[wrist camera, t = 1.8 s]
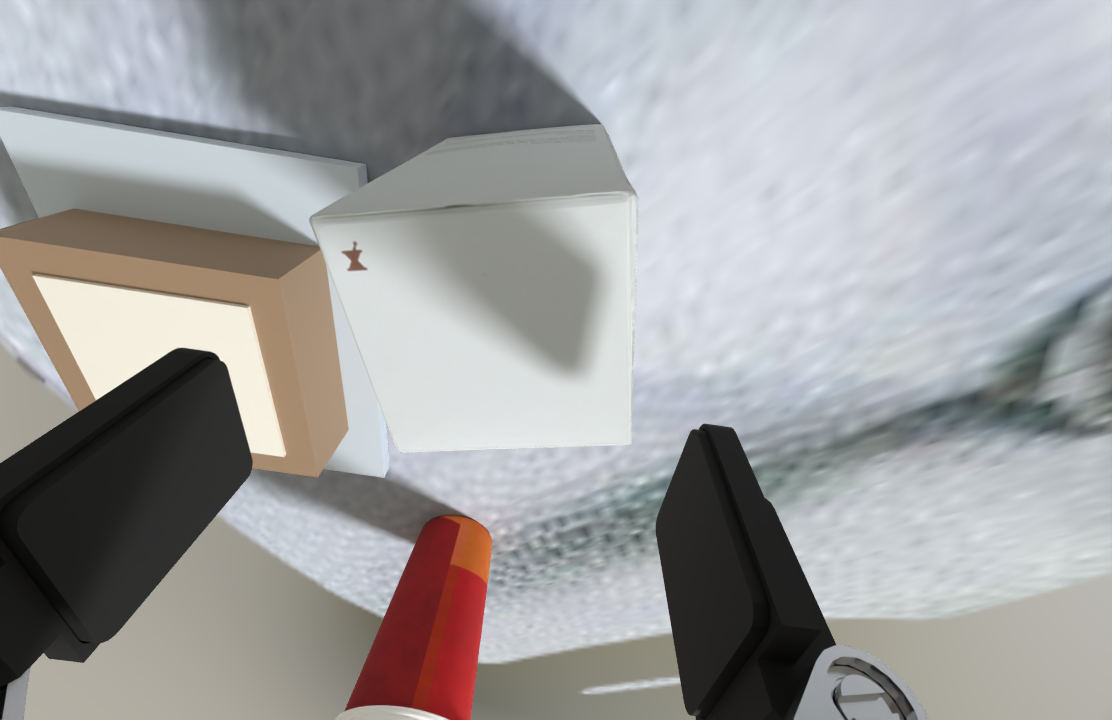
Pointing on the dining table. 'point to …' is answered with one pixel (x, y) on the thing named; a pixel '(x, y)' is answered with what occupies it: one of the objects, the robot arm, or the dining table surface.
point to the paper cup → (429, 630)
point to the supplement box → (494, 290)
